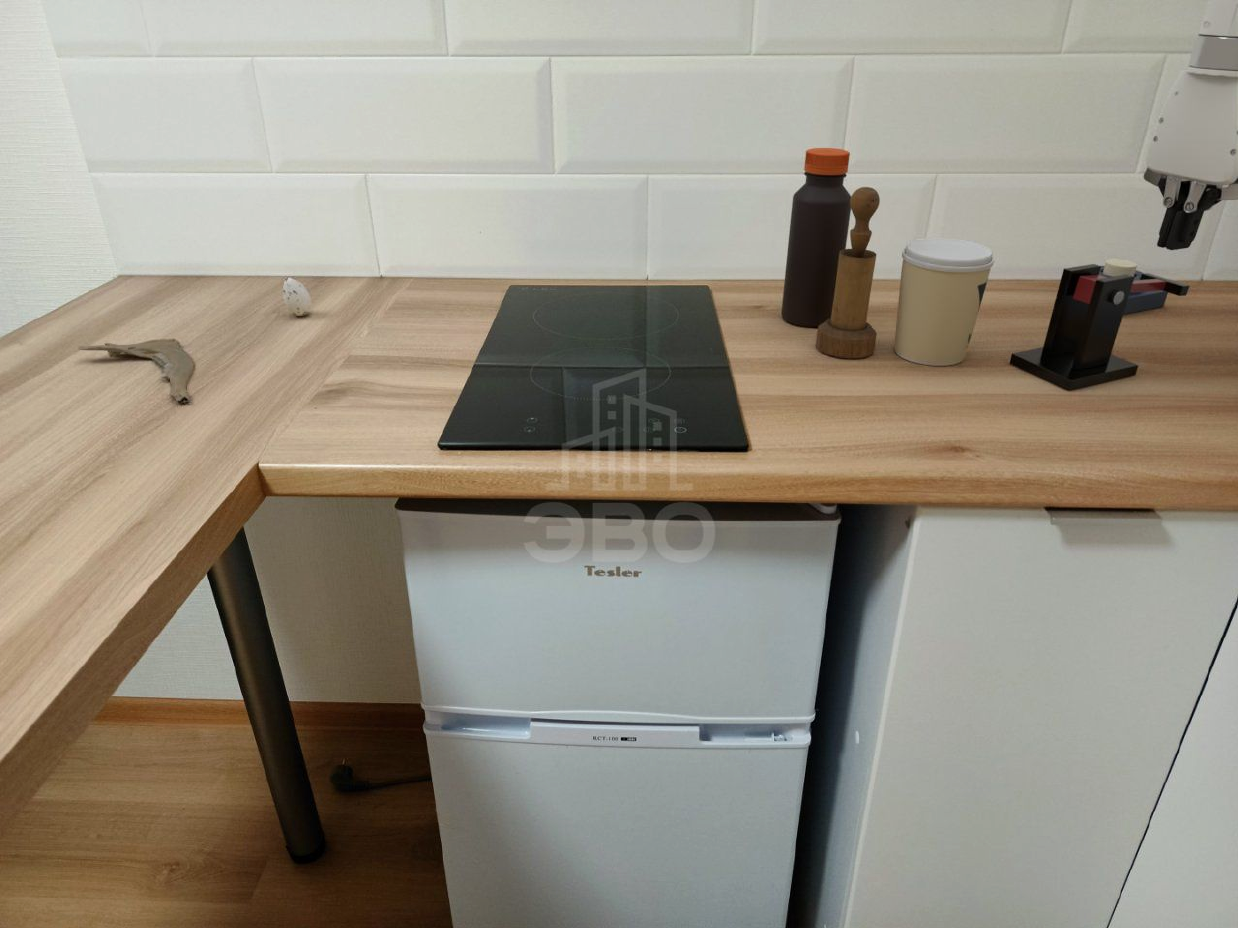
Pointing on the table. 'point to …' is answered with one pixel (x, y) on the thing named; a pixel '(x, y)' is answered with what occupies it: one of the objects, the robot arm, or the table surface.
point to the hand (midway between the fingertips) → (1173, 246)
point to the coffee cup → (940, 299)
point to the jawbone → (159, 361)
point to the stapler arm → (1143, 285)
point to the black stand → (1082, 334)
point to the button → (1119, 267)
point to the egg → (296, 297)
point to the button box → (1141, 297)
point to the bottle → (816, 238)
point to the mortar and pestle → (853, 288)
